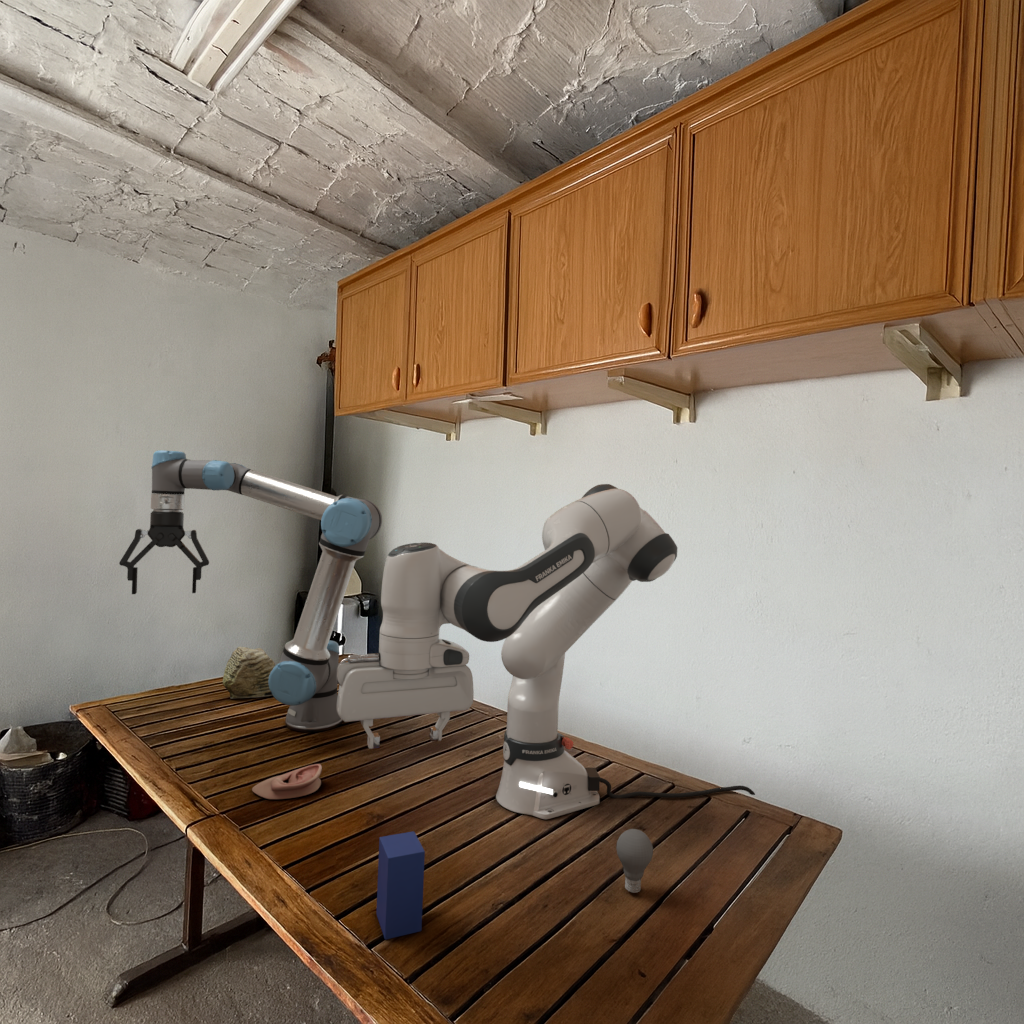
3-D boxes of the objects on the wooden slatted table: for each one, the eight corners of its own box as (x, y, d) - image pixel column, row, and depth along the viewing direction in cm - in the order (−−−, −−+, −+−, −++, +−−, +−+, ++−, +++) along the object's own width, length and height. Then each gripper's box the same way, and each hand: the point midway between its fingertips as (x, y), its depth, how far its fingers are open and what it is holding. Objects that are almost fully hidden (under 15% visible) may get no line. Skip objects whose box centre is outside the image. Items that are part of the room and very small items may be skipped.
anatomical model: (244, 776, 132) (275, 755, 144) (243, 795, 132) (274, 772, 144) (301, 785, 130) (329, 762, 141) (301, 804, 130) (328, 780, 141)
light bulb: (610, 879, 108) (613, 822, 108) (644, 879, 109) (647, 822, 109) (619, 902, 102) (622, 840, 102) (655, 901, 103) (658, 840, 103)
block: (384, 940, 92) (388, 858, 91) (376, 914, 97) (379, 837, 97) (421, 931, 94) (424, 851, 94) (411, 906, 99) (414, 830, 99)
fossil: (218, 695, 195) (220, 647, 195) (278, 685, 208) (279, 640, 207) (228, 703, 189) (230, 653, 188) (289, 692, 201) (290, 645, 201)
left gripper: (108, 509, 155) (105, 596, 155) (220, 512, 165) (217, 594, 165) (113, 508, 161) (110, 591, 162) (221, 511, 172) (218, 590, 172)
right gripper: (340, 661, 87) (336, 760, 88) (479, 652, 96) (475, 743, 96) (334, 650, 93) (330, 743, 93) (465, 643, 101) (461, 729, 102)
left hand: (164, 593), depth 163 cm, fingers open, 13 cm apart
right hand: (405, 743), depth 95 cm, fingers open, 8 cm apart
